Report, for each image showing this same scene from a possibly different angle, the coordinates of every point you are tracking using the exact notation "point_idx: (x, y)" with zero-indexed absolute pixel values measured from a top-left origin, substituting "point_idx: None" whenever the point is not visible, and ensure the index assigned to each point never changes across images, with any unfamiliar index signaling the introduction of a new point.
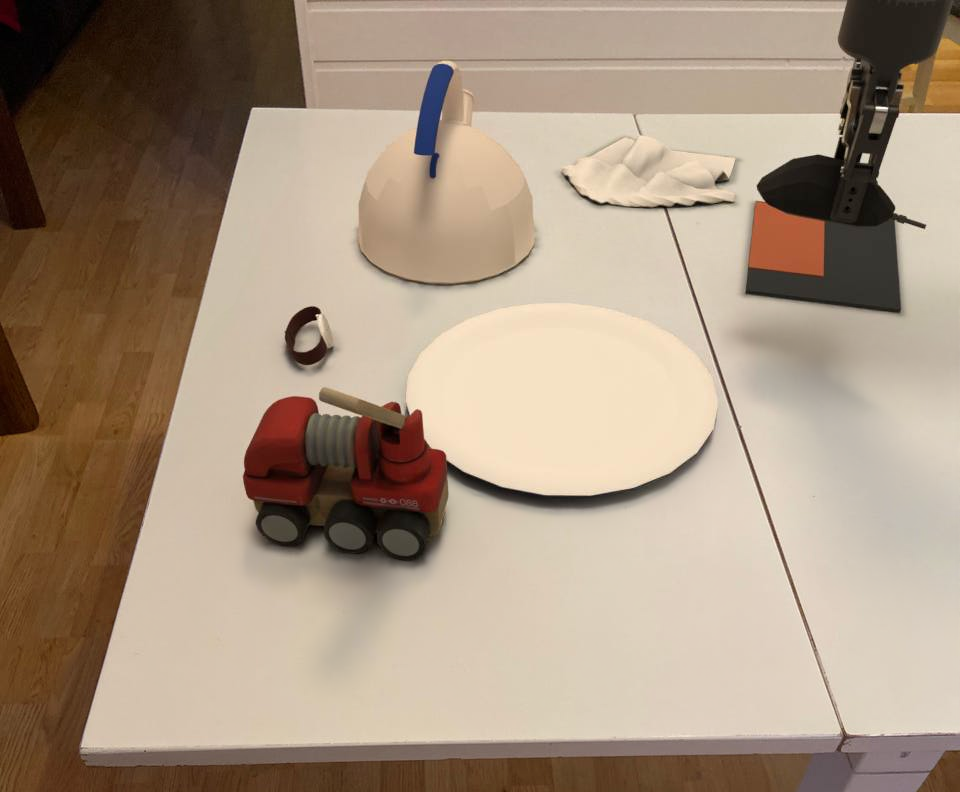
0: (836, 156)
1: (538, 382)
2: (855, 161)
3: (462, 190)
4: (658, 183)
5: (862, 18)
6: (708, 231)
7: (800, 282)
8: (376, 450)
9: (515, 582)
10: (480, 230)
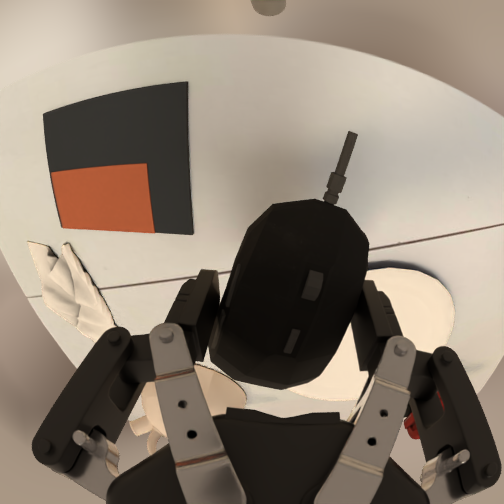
0: (209, 335)
1: (350, 359)
2: (443, 409)
3: None
4: (84, 300)
5: None
6: (111, 261)
7: (163, 184)
8: None
9: (476, 335)
10: (226, 407)
